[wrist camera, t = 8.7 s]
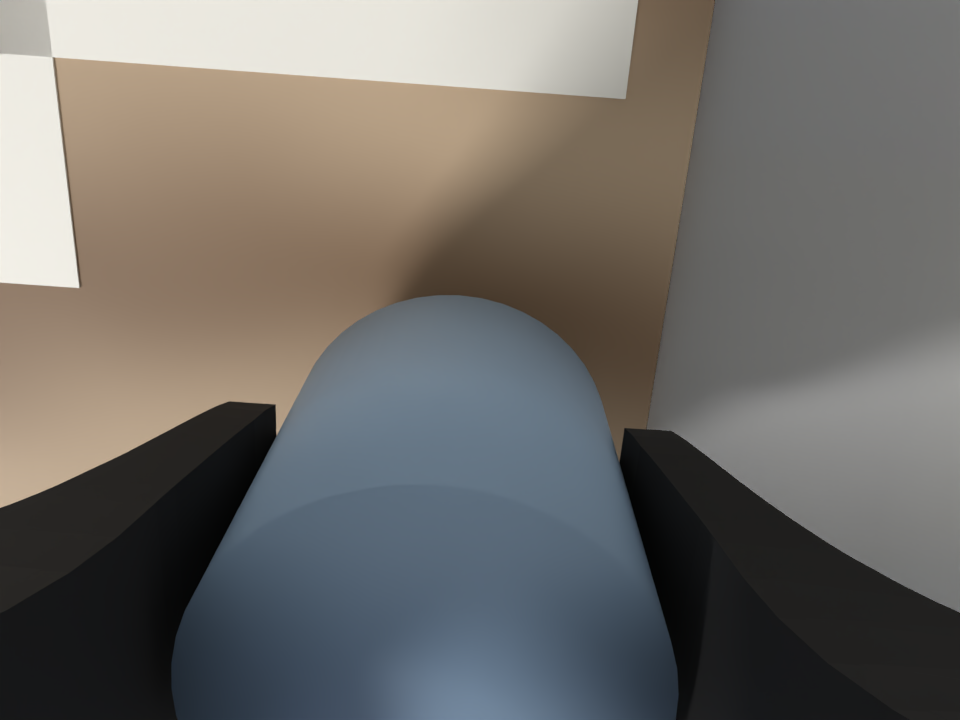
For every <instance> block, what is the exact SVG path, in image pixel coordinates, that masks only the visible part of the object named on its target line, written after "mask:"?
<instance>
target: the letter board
mask: <svg viewBox="0 0 960 720" xmlns="http://www.w3.org/2000/svg"><path fill="white" fill-rule="evenodd" d="M714 4H715V0H638V6H637V14H636V21H635V29H634V37H633V45H632V53H631V60H630V68H629V76H628V84H627V91H626V99H616V98H603V97H589V96H575V95H562V94H548V93H534V92H521V91H507V90H493V89H480V88H466V87H452V86H439V85H425V84H411V83H398V82H384V81H370V80H357V79H343V78H329V77H316V76H302V75H288V74H274V73H261V72H247V71H233V70H220V69H206V68H192V67H179V66H165V65H151V64H138V63H124V62H110V61H97V60H83V59H69V58H56V57H53V59H54V67H55V76H56V84H57V93H58V102H59V110H60V119H61V127H62V136H63V144H64V153H65V162H66V170H67V179H68V187H69V196H70V205H71V213H72V222H73V230H74V239H75V247H76V256H77V265H78V273H79V282H80V288H71V287H56V286H42V285H28V284H14V283H0V508H1V507H4V506H7V505H10V504H12V503H15V502H18V501H20V500H23V499H25V498H28V497H30V496H33V495H35V494H38V493H40V492H42V491H45V490H47V489H49V488H52V487H54V486H56V485H59V484H61V483H63V482H65V481H67V480H69V479H71V478H74V477H76V476H78V475H80V474H82V473H84V472H86V471H88V470H91V469H93V468H95V467H97V466H99V465H101V464H103V463H106V462H108V461H110V460H112V459H114V458H116V457H118V456H120V455H122V454H124V453H126V452H128V451H130V450H132V449H134V448H136V447H138V446H140V445H142V444H144V443H146V442H148V441H149V440H151V439H153V438H155V437H157V436H159V435H161V434H163V433H165V432H167V431H169V430H170V429H172V428H174V427H176V426H178V425H180V424H182V423H184V422H186V421H187V420H189V419H191V418H193V417H195V416H197V415H199V414H201V413H203V412H205V411H207V410H209V409H211V408H213V407H216V406H218V405H220V404H223V403H226V402H229V401H232V402H247V403H262V404H276V436H277V434H278V432H279V430H280V428H281V427H282V425H283V423H284V421H285V419H286V417H287V415H288V413H289V411H290V409H291V407H292V406H293V404H294V402H295V400H296V398H297V396H298V394H299V392H300V390H301V388H302V387H303V385H304V383H305V381H306V379H307V377H308V375H309V373H310V372H311V370H312V368H313V366H314V364H315V363H316V361H317V360H318V359H319V357H320V356H321V355H322V353H323V352H324V351H325V349H326V348H327V347H328V346H329V345H330V344H331V343H332V342H333V341H334V340H335V339H336V338H337V337H338V336H339V335H340V334H341V333H342V332H343V331H345V330H346V329H347V328H349V327H350V326H351V325H353V324H354V323H355V322H357V321H358V320H360V319H362V318H364V317H365V316H367V315H369V314H371V313H373V312H374V311H376V310H379V309H381V308H384V307H387V306H389V305H392V304H394V303H397V302H401V301H405V300H409V299H413V298H418V297H427V296H435V295H461V296H469V297H476V298H483V299H487V300H490V301H494V302H498V303H502V304H505V305H507V306H510V307H512V308H514V309H517V310H519V311H522V312H524V313H526V314H527V315H529V316H531V317H533V318H535V319H536V320H538V321H540V322H542V323H543V324H544V325H546V326H547V327H548V328H550V329H551V330H552V331H554V332H555V333H556V334H558V335H559V336H560V337H561V338H562V339H563V340H564V341H565V342H566V343H567V344H568V345H569V346H570V347H571V348H572V349H573V350H574V352H575V353H576V354H577V356H578V357H579V358H580V360H581V361H582V362H583V363H584V365H585V366H586V368H587V370H588V372H589V374H590V375H591V377H592V379H593V381H594V383H595V385H596V388H597V390H598V393H599V395H600V398H601V401H602V404H603V408H604V411H605V415H606V418H607V421H608V425H609V428H610V432H611V435H612V439H613V442H614V446H615V449H616V453H617V456H618V460H619V462H620V455H621V448H622V441H623V435H624V428H632V429H646V428H647V421H648V415H649V409H650V403H651V397H652V390H653V384H654V378H655V372H656V365H657V359H658V353H659V347H660V340H661V334H662V328H663V322H664V315H665V309H666V303H667V297H668V291H669V284H670V278H671V272H672V266H673V259H674V253H675V247H676V241H677V234H678V228H679V222H680V216H681V209H682V203H683V197H684V191H685V185H686V178H687V172H688V166H689V160H690V153H691V147H692V141H693V135H694V128H695V122H696V116H697V110H698V103H699V97H700V91H701V85H702V79H703V72H704V66H705V60H706V54H707V47H708V41H709V35H710V29H711V22H712V16H713V10H714Z"/></svg>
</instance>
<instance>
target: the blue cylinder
mask: <svg viewBox="0 0 960 720" xmlns="http://www.w3.org/2000/svg"><path fill="white" fill-rule="evenodd" d="M171 689H172V695H173V700H174V706H175V712H176V716H177V719H178V720H676V713H677V705H678V696H679V693H678V673H677V665H676V661H675V657H674V652H673V648H672V643H671V640H670V636H669V633H668V629H667V626H666V622H665V619H664V615H663V612H662V608H661V605H660V601H659V598H658V595H657V591H656V588H655V584H654V581H653V577H652V574H651V570H650V567H649V563H648V560H647V556H646V553H645V550H644V546H643V543H642V539H641V536H640V532H639V529H638V525H637V522H636V518H635V515H634V511H633V508H632V505H631V501H630V498H629V494H628V491H627V487H626V484H625V480H624V477H623V473H622V470H621V466H620V463H619V460H618V456H617V453H616V449H615V446H614V442H613V439H612V435H611V432H610V428H609V425H608V421H607V418H606V415H605V411H604V408H603V404H602V401H601V398H600V395H599V393H598V390H597V388H596V385H595V383H594V381H593V379H592V377H591V375H590V374H589V372H588V370H587V368H586V366H585V365H584V363H583V362H582V361H581V360H580V358H579V357H578V356H577V354H576V353H575V352H574V350H573V349H572V348H571V347H570V346H569V345H568V344H567V343H566V342H565V341H564V340H563V339H562V338H561V337H560V336H559V335H558V334H556V333H555V332H554V331H552V330H551V329H550V328H548V327H547V326H546V325H544V324H543V323H542V322H540V321H538V320H536V319H535V318H533V317H531V316H529V315H527V314H526V313H524V312H522V311H519V310H517V309H514V308H512V307H510V306H507V305H505V304H502V303H498V302H494V301H490V300H487V299H483V298H476V297H469V296H461V295H435V296H427V297H418V298H413V299H409V300H405V301H401V302H397V303H394V304H392V305H389V306H387V307H384V308H381V309H379V310H376V311H374V312H373V313H371V314H369V315H367V316H365V317H364V318H362V319H360V320H358V321H357V322H355V323H354V324H353V325H351V326H350V327H349V328H347V329H346V330H345V331H343V332H342V333H341V334H340V335H339V336H338V337H337V338H336V339H335V340H334V341H333V342H332V343H331V344H330V345H329V346H328V347H327V348H326V349H325V351H324V352H323V353H322V355H321V356H320V357H319V359H318V360H317V361H316V363H315V364H314V366H313V368H312V370H311V372H310V373H309V375H308V377H307V379H306V381H305V383H304V385H303V387H302V388H301V390H300V392H299V394H298V396H297V398H296V400H295V402H294V404H293V406H292V407H291V409H290V411H289V413H288V415H287V417H286V419H285V421H284V423H283V425H282V427H281V428H280V430H279V432H278V434H277V436H276V438H275V440H274V442H273V444H272V446H271V447H270V449H269V451H268V453H267V455H266V457H265V459H264V461H263V463H262V465H261V467H260V468H259V470H258V472H257V474H256V476H255V478H254V480H253V482H252V484H251V486H250V488H249V489H248V491H247V493H246V495H245V497H244V499H243V501H242V503H241V505H240V507H239V508H238V510H237V512H236V514H235V516H234V518H233V520H232V522H231V524H230V526H229V528H228V529H227V531H226V533H225V535H224V537H223V539H222V541H221V543H220V545H219V547H218V549H217V550H216V552H215V554H214V556H213V558H212V560H211V562H210V564H209V566H208V568H207V569H206V571H205V573H204V575H203V577H202V579H201V581H200V583H199V585H198V587H197V589H196V590H195V592H194V594H193V596H192V598H191V600H190V602H189V604H188V606H187V608H186V609H185V612H184V614H183V617H182V620H181V623H180V626H179V629H178V632H177V634H176V638H175V644H174V650H173V656H172V662H171Z"/></svg>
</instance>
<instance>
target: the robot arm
mask: <svg viewBox="0 0 960 720" xmlns="http://www.w3.org/2000/svg"><path fill="white" fill-rule="evenodd" d="M275 438H276V404H262V403H247V402H232V401H229V402H226V403H223V404H220V405H218V406H216V407H213V408H211V409H209V410H207V411H205V412H203V413H201V414H199V415H197V416H195V417H193V418H191V419H189V420H187V421H186V422H184V423H182V424H180V425H178V426H176V427H174V428H172V429H170V430H169V431H167V432H165V433H163V434H161V435H159V436H157V437H155V438H153V439H151V440H149V441H148V442H146V443H144V444H142V445H140V446H138V447H136V448H134V449H132V450H130V451H128V452H126V453H124V454H122V455H120V456H118V457H116V458H114V459H112V460H110V461H108V462H106V463H103V464H101V465H99V466H97V467H95V468H93V469H91V470H88V471H86V472H84V473H82V474H80V475H78V476H76V477H74V478H71V479H69V480H67V481H65V482H63V483H61V484H59V485H56V486H54V487H52V488H49V489H47V490H45V491H42V492H40V493H38V494H35V495H33V496H30V497H28V498H25V499H23V500H20V501H18V502H15V503H12V504H10V505H7V506H4V507H1V508H0V720H178V719H177V716H176V712H175V706H174V700H173V695H172V689H171V662H172V656H173V650H174V644H175V638H176V634H177V632H178V629H179V626H180V623H181V620H182V617H183V614H184V612H185V609H186V608H187V606H188V604H189V602H190V600H191V598H192V596H193V594H194V592H195V590H196V589H197V587H198V585H199V583H200V581H201V579H202V577H203V575H204V573H205V571H206V569H207V568H208V566H209V564H210V562H211V560H212V558H213V556H214V554H215V552H216V550H217V549H218V547H219V545H220V543H221V541H222V539H223V537H224V535H225V533H226V531H227V529H228V528H229V526H230V524H231V522H232V520H233V518H234V516H235V514H236V512H237V510H238V508H239V507H240V505H241V503H242V501H243V499H244V497H245V495H246V493H247V491H248V489H249V488H250V486H251V484H252V482H253V480H254V478H255V476H256V474H257V472H258V470H259V468H260V467H261V465H262V463H263V461H264V459H265V457H266V455H267V453H268V451H269V449H270V447H271V446H272V444H273V442H274V440H275ZM619 463H620V466H621V470H622V473H623V477H624V480H625V484H626V487H627V491H628V494H629V498H630V501H631V505H632V508H633V511H634V515H635V518H636V522H637V525H638V529H639V532H640V536H641V539H642V543H643V546H644V550H645V553H646V556H647V560H648V563H649V567H650V570H651V574H652V577H653V581H654V584H655V588H656V591H657V595H658V598H659V601H660V605H661V608H662V612H663V615H664V619H665V622H666V626H667V629H668V633H669V636H670V640H671V643H672V648H673V652H674V657H675V661H676V665H677V673H678V693H679V696H678V705H677V713H676V720H960V613H959V612H957V611H955V610H953V609H950V608H948V607H946V606H944V605H941V604H939V603H937V602H935V601H933V600H931V599H929V598H927V597H925V596H923V595H921V594H919V593H917V592H915V591H913V590H911V589H908V588H906V587H905V586H903V585H901V584H899V583H897V582H895V581H893V580H891V579H890V578H888V577H886V576H884V575H882V574H881V573H879V572H877V571H875V570H873V569H872V568H870V567H868V566H866V565H864V564H862V563H861V562H859V561H857V560H855V559H853V558H852V557H850V556H848V555H847V554H845V553H843V552H842V551H840V550H838V549H837V548H835V547H833V546H832V545H830V544H828V543H827V542H825V541H824V540H822V539H821V538H819V537H818V536H816V535H815V534H813V533H812V532H810V531H808V530H807V529H805V528H804V527H802V526H801V525H799V524H798V523H796V522H795V521H793V520H792V519H790V518H789V517H787V516H786V515H785V514H783V513H782V512H780V511H779V510H777V509H776V508H775V507H773V506H772V505H770V504H769V503H768V502H766V501H765V500H763V499H762V498H761V497H759V496H758V495H757V494H755V493H754V492H753V491H751V490H750V489H749V488H747V487H746V486H745V485H743V484H742V483H741V482H739V481H738V480H737V479H735V478H734V477H733V476H732V475H730V474H729V473H728V472H726V471H725V470H724V469H722V468H721V467H720V466H719V465H717V464H716V463H715V462H713V461H712V460H711V459H710V458H708V457H707V456H706V455H704V454H703V453H702V452H701V451H699V450H698V449H697V448H695V447H694V446H693V445H691V444H690V443H689V442H687V441H686V440H684V439H683V438H681V437H680V436H678V435H677V434H675V433H673V432H672V431H662V430H647V429H632V428H624V435H623V441H622V448H621V455H620V462H619Z"/></svg>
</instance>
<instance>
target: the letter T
mask: <svg viewBox="0 0 960 720" xmlns="http://www.w3.org/2000/svg"><path fill="white" fill-rule="evenodd" d="M637 6H638V0H0V283H14V284H28V285H42V286H56V287H71V288H80V282H79V273H78V265H77V256H76V247H75V239H74V230H73V222H72V213H71V205H70V196H69V187H68V179H67V170H66V162H65V153H64V144H63V136H62V127H61V119H60V110H59V102H58V93H57V84H56V76H55V67H54V59H53V57H56V58H69V59H83V60H97V61H110V62H124V63H138V64H151V65H165V66H179V67H192V68H206V69H220V70H233V71H247V72H261V73H274V74H288V75H302V76H316V77H329V78H343V79H357V80H370V81H384V82H398V83H411V84H425V85H439V86H452V87H466V88H480V89H493V90H507V91H521V92H534V93H548V94H562V95H575V96H589V97H603V98H616V99H626V91H627V84H628V76H629V68H630V60H631V53H632V45H633V37H634V29H635V21H636V14H637Z"/></svg>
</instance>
